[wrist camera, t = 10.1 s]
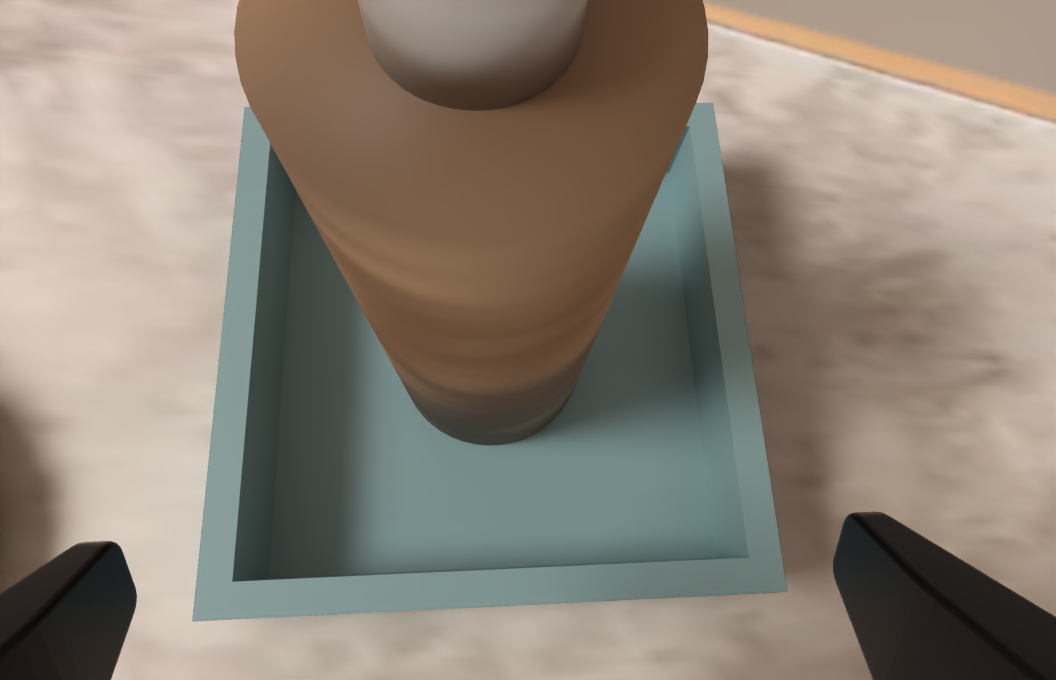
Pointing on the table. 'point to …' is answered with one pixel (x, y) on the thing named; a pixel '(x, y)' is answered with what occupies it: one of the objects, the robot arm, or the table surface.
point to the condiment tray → (478, 470)
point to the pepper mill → (477, 175)
